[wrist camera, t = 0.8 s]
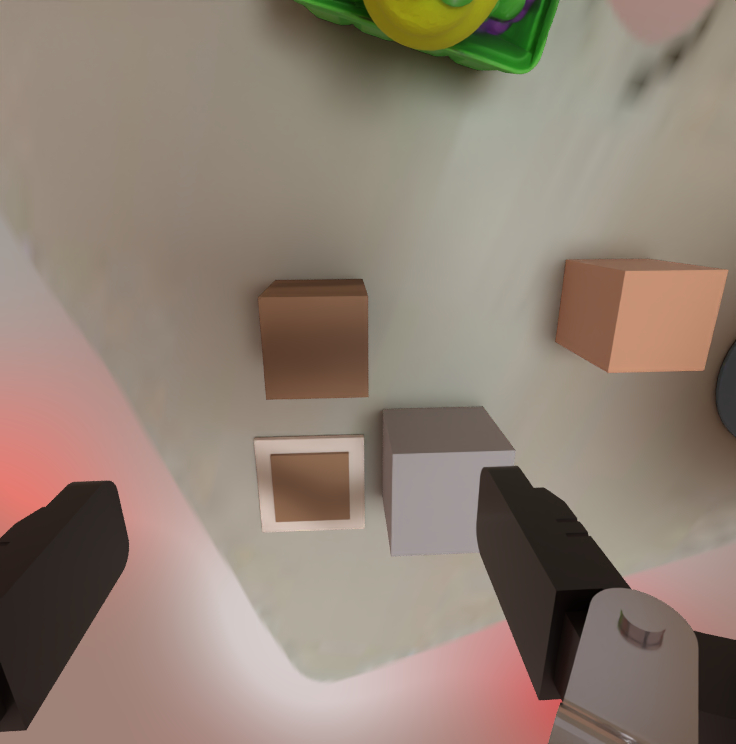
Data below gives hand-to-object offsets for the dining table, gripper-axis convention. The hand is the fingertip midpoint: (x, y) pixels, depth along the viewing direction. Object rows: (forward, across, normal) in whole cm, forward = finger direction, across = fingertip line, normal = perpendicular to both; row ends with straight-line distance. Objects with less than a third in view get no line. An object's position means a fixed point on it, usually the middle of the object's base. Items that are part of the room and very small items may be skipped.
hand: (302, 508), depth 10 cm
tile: (+18, +2, +11) cm, 21 cm away
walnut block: (+18, 0, 0) cm, 18 cm away
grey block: (+18, -6, +9) cm, 21 cm away
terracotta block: (+18, -17, -1) cm, 25 cm away
